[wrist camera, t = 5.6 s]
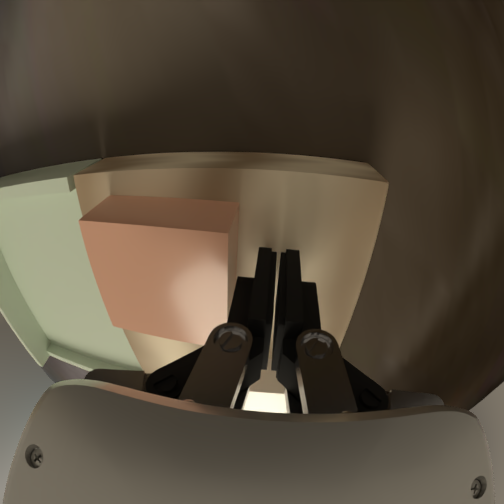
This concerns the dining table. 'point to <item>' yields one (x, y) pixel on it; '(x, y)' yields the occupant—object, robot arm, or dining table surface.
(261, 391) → the cream tile
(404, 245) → the dining table surface
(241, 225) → the birch plate
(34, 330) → the bin
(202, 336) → the terracotta tile
